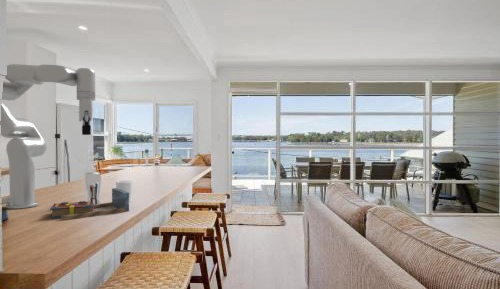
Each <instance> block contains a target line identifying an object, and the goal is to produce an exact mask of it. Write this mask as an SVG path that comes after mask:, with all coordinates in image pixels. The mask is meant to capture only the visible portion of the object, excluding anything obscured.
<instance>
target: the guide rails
mask: <svg viewBox="0 0 500 289" xmlns="http://www.w3.org/2000/svg"><path fill="white" fill-rule="evenodd" d="M111 200H112V201H111V202H104V203H100V204H94V206H93V208H94V209H101V207H102V208H109V206H110V207H115V208H109V209H104V210H103V209H102V210H96V211H95V210H93V212H86V213H78V214H71V215H63V216H61V218H60V219H61V221H67V220H73V219H83V218H89V217H90V218H91V217H96V216H95V215H97V216H103V214H104V215H110V214H118V213H124V212H125V213H126V212H130V202H129V192H126V191H123V190H120V189H117V188H116V187H115V188H111Z"/></svg>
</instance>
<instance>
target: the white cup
mask: <svg viewBox="0 0 500 289" xmlns="http://www.w3.org/2000/svg"><path fill="white" fill-rule="evenodd" d="M133 184H134V180H118V181H115V188H117V189H120V190H123V191H126V192H129V203H130V202H133V187H134V186H133Z"/></svg>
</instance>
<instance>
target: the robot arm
mask: <svg viewBox="0 0 500 289" xmlns="http://www.w3.org/2000/svg"><path fill="white" fill-rule="evenodd" d="M6 66H7V75H6V76H5V77H4V78H5V79H6V80H7V81H3V80H2V81H3V92H2V99H1V102H2V104H1V121H0V125H1V134H0V136H1V137H3V138H5V139H6V138H7V139H10V140H9V141H8V142H7V144H6V146H5V147H6V149H5V150H6V153H7V158H8V166H9V167H8V171H9V172H8V174H9V196H8V197H7V198H3V199H2V198H1V199H2V204H1V205H4V204H5V208H6V209H27V208H33V207H36V206H39V205H40V204H39V203H40V202H39V201H36V200H35V199H36V198H35V197H36V195H35V192H36V190H35V189H36V186H35V184H36V182H35V173H36V172H35V164H34V161H33V159H32V158H35V157H37V158H38V157H41V156H42V155H44V154H45V153H46V151H47V144H46V141H45V139H44V138H43V136H42V135H41V133H40V132H39V131H38V129H37V127H36V126H35V124H34V123H33V122H32V121H31V120H29V119H27V118H23V117H21V118H20V117H16V116H15V115H14V114H13V112H12V111H11V110H10V108H9V107H8V106H7V105H6V104H5V103H4V102H3V101H16V100H18V99H20V97H22V96H23V95H25V93H26V92H27V91H29V90H30V89H31V88H32V87H33V86H35V85H42V84H44V83H56V84H61V85H67V86H70V87H76V101H77V100H78V102H79V103H78V121H79V122H80V123H81V122H82V126H81V134H82V135H83V136H85V135H86V136H90V135H91V134H92V128H91V127H92V126H91V122H92V119H93V101H96V72H95V70H94V69H92V68H87V67H86V68H85V67H81V68H80V67H79V68H77V69H73V68H71V67H68V66H65V65H59V64H20V63H19V64H18V63H11V64H7V65H6ZM2 100H3V101H2Z"/></svg>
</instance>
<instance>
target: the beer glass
mask: <svg viewBox="0 0 500 289" xmlns="http://www.w3.org/2000/svg"><path fill="white" fill-rule="evenodd" d="M84 176H85V177H84V186H85V192H86V202H90V201H93V205H94V204H101V199H100V193H101V187H102V175H101V172H99V171H93V172H89V171H88V172H85V175H84Z"/></svg>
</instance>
